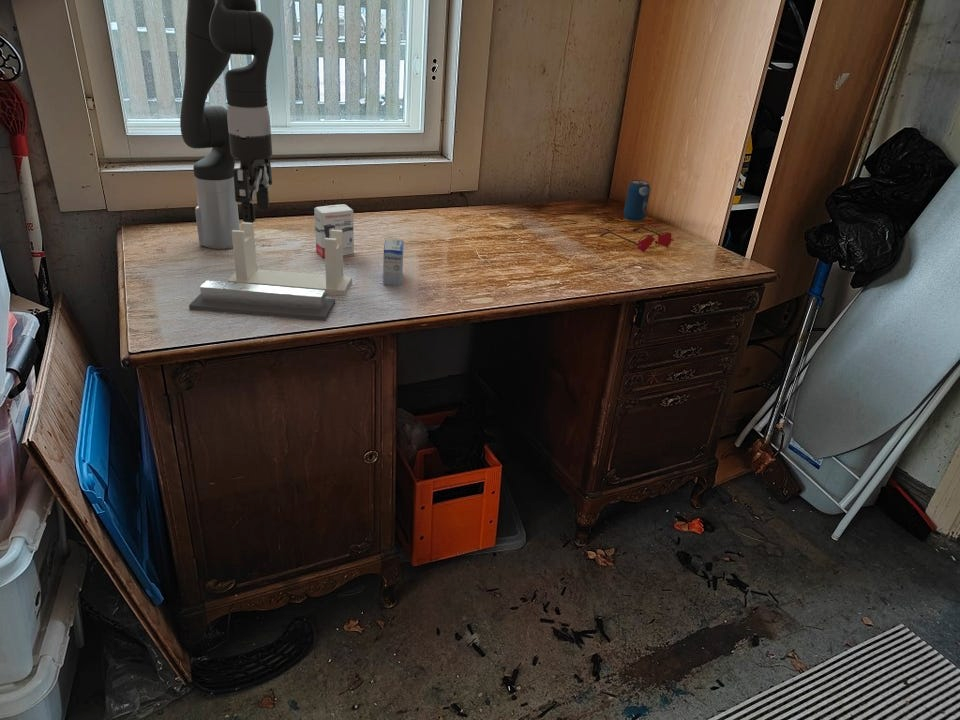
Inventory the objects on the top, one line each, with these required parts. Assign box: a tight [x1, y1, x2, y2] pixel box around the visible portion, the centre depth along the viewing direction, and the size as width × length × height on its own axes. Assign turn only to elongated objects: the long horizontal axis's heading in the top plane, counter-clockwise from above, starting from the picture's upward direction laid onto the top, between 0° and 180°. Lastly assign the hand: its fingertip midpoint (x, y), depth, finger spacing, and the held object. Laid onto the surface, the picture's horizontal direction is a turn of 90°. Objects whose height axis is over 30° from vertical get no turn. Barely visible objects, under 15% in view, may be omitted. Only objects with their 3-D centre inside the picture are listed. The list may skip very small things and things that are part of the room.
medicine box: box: [382, 238, 404, 286], centre depth 161 cm, size 8×4×9 cm, turn 5°
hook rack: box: [227, 221, 353, 296], centre depth 153 cm, size 26×8×12 cm, turn 88°
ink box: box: [313, 203, 355, 259], centre depth 173 cm, size 8×5×12 cm, turn 123°
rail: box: [199, 279, 326, 310], centre depth 144 cm, size 25×4×3 cm, turn 88°
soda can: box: [623, 179, 651, 223], centre depth 220 cm, size 7×7×12 cm
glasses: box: [599, 226, 675, 252], centre depth 202 cm, size 14×16×5 cm
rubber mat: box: [188, 293, 336, 322], centre depth 144 cm, size 28×9×1 cm, turn 88°
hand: (256, 215), depth 135 cm, fingers open, 8 cm apart
